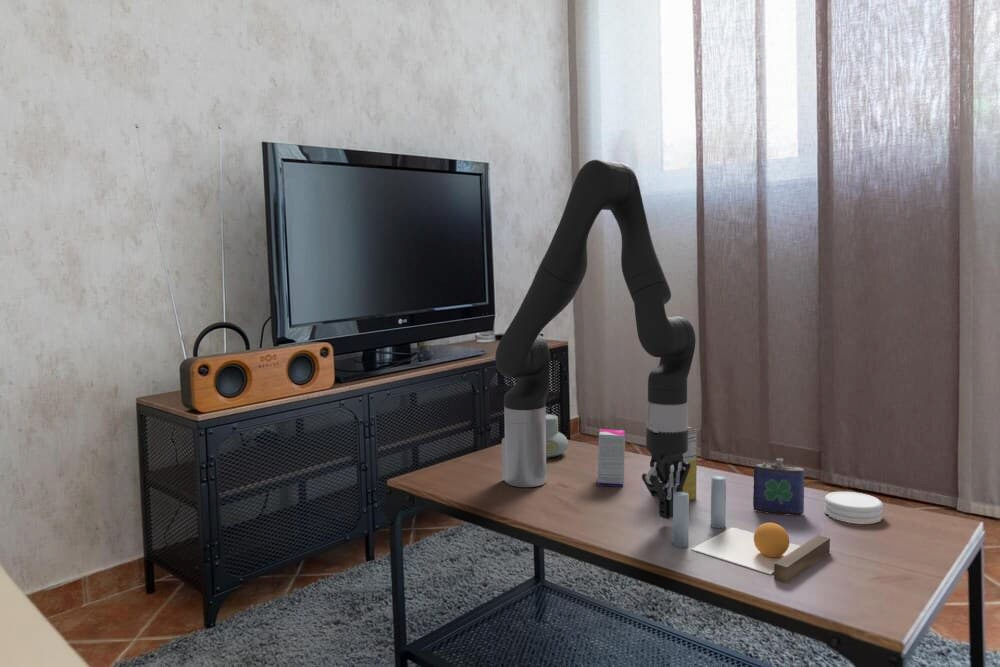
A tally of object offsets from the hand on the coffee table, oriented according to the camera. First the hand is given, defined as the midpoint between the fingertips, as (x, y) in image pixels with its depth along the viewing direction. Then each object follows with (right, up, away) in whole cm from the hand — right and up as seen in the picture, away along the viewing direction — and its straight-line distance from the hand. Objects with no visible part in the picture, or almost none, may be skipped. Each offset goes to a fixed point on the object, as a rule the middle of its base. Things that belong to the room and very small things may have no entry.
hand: (666, 517), depth 133 cm
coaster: (+37, -1, +4) cm, 37 cm away
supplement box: (-6, +1, +27) cm, 27 cm away
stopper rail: (+18, -3, -18) cm, 26 cm away
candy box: (+6, 0, +17) cm, 18 cm away
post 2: (+9, -1, -1) cm, 10 cm away
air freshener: (-19, +3, +50) cm, 54 cm away
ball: (+14, 0, -15) cm, 20 cm away
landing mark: (+11, -3, -12) cm, 17 cm away
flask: (+23, -1, +6) cm, 24 cm away
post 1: (0, -2, -9) cm, 10 cm away
